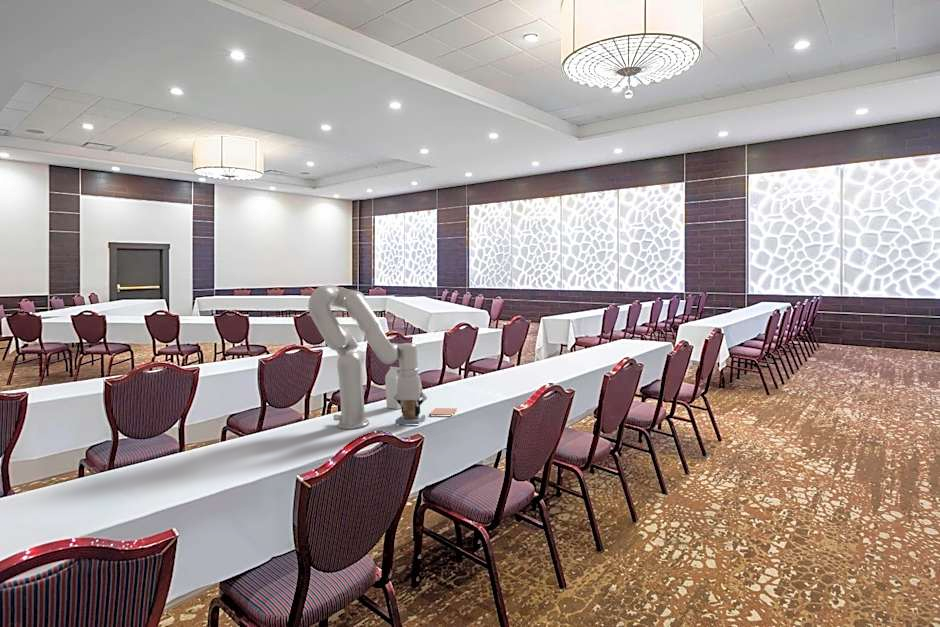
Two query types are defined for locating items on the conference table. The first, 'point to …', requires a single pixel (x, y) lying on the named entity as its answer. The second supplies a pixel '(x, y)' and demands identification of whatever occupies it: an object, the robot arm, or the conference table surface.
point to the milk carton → (392, 388)
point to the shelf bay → (402, 421)
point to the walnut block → (409, 410)
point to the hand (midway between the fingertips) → (411, 414)
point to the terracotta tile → (443, 411)
